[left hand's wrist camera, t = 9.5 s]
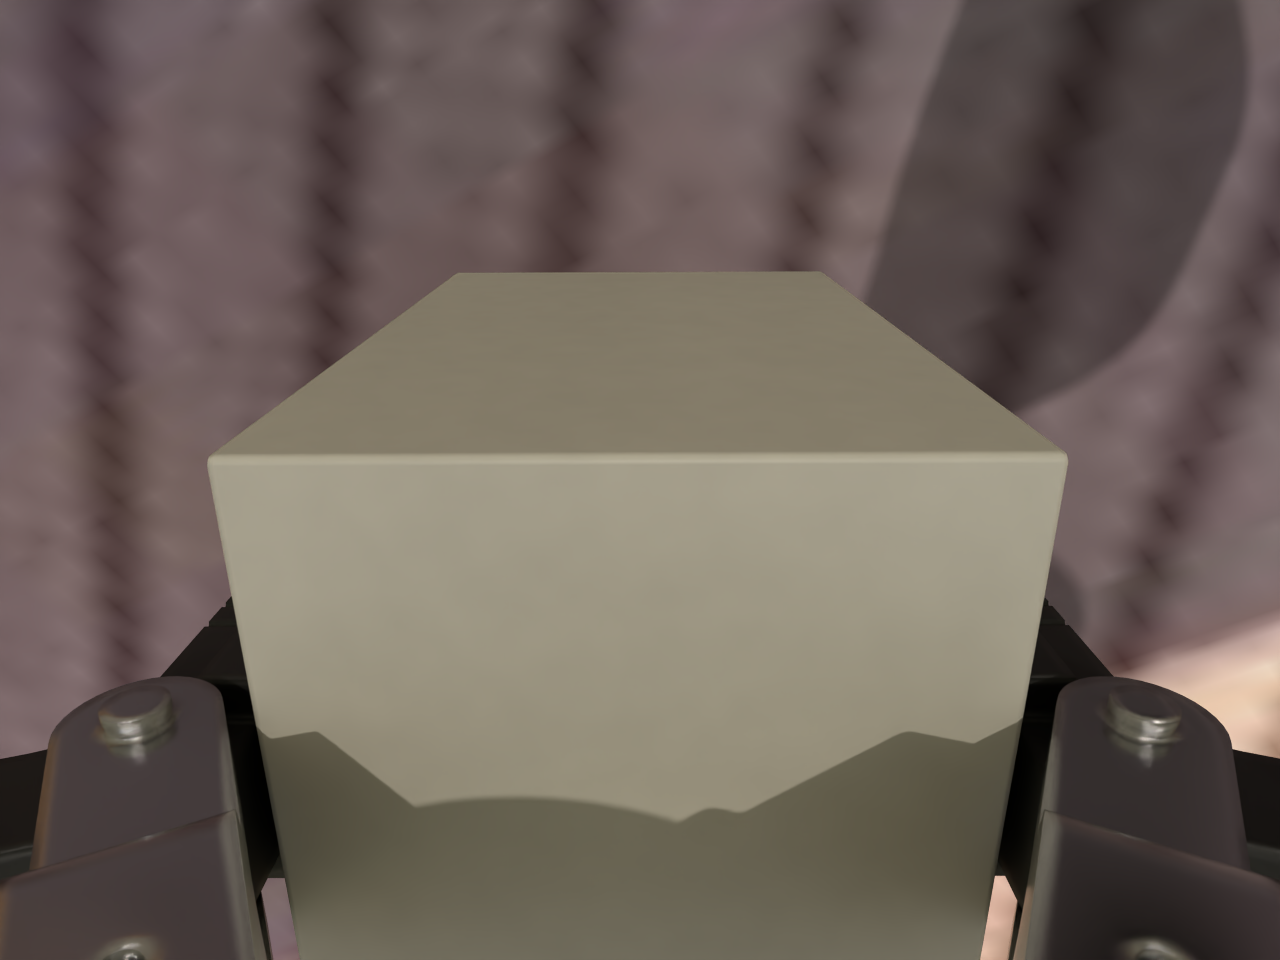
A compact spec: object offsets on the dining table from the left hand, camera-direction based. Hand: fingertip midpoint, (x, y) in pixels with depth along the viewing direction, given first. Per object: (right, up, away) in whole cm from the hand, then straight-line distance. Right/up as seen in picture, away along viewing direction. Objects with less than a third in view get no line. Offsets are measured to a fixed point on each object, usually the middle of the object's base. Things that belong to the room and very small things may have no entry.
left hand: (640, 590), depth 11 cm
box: (0, -8, +9) cm, 11 cm away
